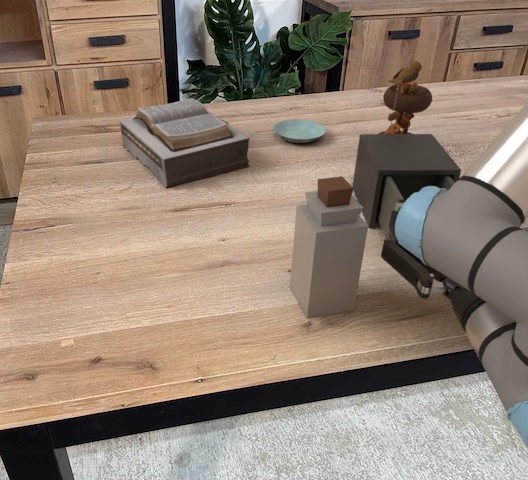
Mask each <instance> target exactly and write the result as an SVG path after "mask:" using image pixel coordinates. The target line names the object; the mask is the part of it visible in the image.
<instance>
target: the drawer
mask: <svg viewBox="0 0 528 480" xmlns="http://www.w3.org/2000/svg"><path fill="white" fill-rule="evenodd" d="M454 184H455V182H454V181H453V179H452V178H451V177H450V176H449V175H383V181H382V186H381V192H380V198H379V203H378V209H377V215H376V217H377V219H378V222H379V224H380V226H381V228H380V229H381V231H382V233H383V235H384V238H385V239H388V234H389V229H390V228H389V223H390V218H391V213H392V211H397V212H398V213H399V211H400V209H401V207H402V206H403V204H404V203H405V201H406V200H407V199H408V198H409V197H410V196H411V195H412V194H413V193H416V192H419V191H420V190H421V189H422V188H424V187H427V186H435V187H438V188H445V189H446V190H449V189H450V188H451V187H452V186H453V185H454Z"/></svg>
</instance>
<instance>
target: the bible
mask: <svg viewBox="0 0 528 480" xmlns="http://www.w3.org/2000/svg"><path fill="white" fill-rule="evenodd" d="M118 122H119V127H120V135H121V140H122V141H121V142H122V147H124V149H125V150H126V151H128V152H130V154H131V156H132V157H134V158H135V159H136V160H137V159H138V160H139V162H140V163H141V165H144V166H145V167H146V168H149V170H150V171H151V173H153V176H154V177H155V178H156V179H157V180H158V181H159V182H160V183H161V184H162V185H163V186H164V188H165V189H167V188H169V187H174V186H177V185H180V184H181V185H182V184H184V183H185V184H186V183H191V182H193V181H196V180H200V179H204V178H210V177H216V176H218V174H224V173H230V172H232V171H237V170H239V169H243V168H246V167H247V168H248V167H250V164H249V163H250V160H249V158H248V152H249V146H250V144H249V141H250V137H249V136H247V134H245V133H244V132H241V131H240V130H239V129H237V128H235V127H234V126H232V125H231V124H230V123H229V122H228V121H226V120H224V119H222V118H220V117H218V116H217V115H215V114H214V113H212V112H210V111H208V110H207V108H206V106H205V105H204V104H203V103H202V102H201V101H199V100H196V99H195V98H192V97H189V98H186V99H183V100H179V101H174V102H170V103H164V104H159V105H151V106H141V107H137V108H136V112H135V116H131V117H128V118H122V119H119V120H118Z"/></svg>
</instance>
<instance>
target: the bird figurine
mask: <svg viewBox="0 0 528 480" xmlns="http://www.w3.org/2000/svg"><path fill="white" fill-rule="evenodd" d="M422 68H423V67H422V64H421V62H420V61H417V60H414V61H412V62H410V63H409V65H408V66H406V67H403V68H401V69H399V70H398V71H397V72H395V74H394V76H392V79H389V80H388V83H391V84H393V85H390V86H389V87H387V88H386V90H385V91H384V93H383V98H382V99H383V104H384V105H385V107H387V108H388V109H389V110H390V111H392V112H390V113H389V114H388V116H387V121H388V122H390V125H389V126H388V128H387V129H386V130H384V131H380V132H378V133H377V134H413V132H408V131H409V128H410V127H411V123H412V122H411V121H412V119H414V118H415V114H419V113H422V112H424V111H426V110H428V108H429V107H430V106H431V105H432V102H433V94H432V92H431V90H430V89H429V88H427V87H425V86H422V85H419V84H418V82H417V81H416V80H417V79H418V78H419V74H420V72H421V71H422ZM393 121H395V122H393Z"/></svg>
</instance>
